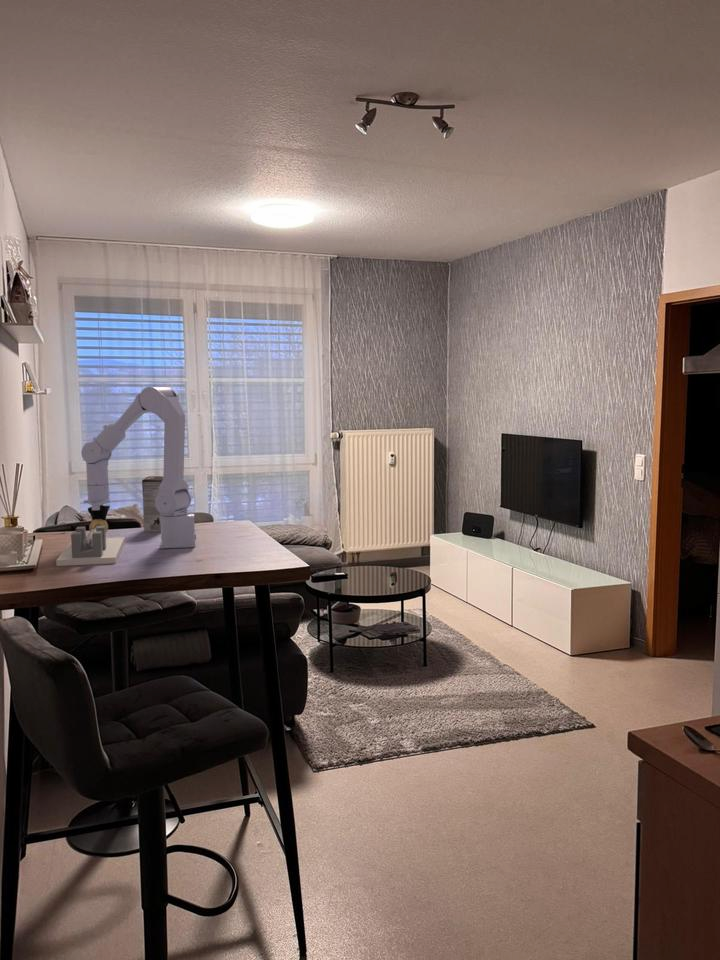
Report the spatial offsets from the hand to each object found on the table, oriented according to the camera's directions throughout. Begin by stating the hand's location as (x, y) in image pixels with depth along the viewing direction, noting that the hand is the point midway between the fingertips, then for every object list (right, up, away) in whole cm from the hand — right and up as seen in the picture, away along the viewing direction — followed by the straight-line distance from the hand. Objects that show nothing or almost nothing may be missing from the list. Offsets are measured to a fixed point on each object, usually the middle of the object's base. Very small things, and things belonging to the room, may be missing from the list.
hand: (99, 531), depth 221 cm
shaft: (+3, -2, -13) cm, 13 cm away
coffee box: (+11, -1, +20) cm, 23 cm away
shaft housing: (+3, -5, -16) cm, 17 cm away
